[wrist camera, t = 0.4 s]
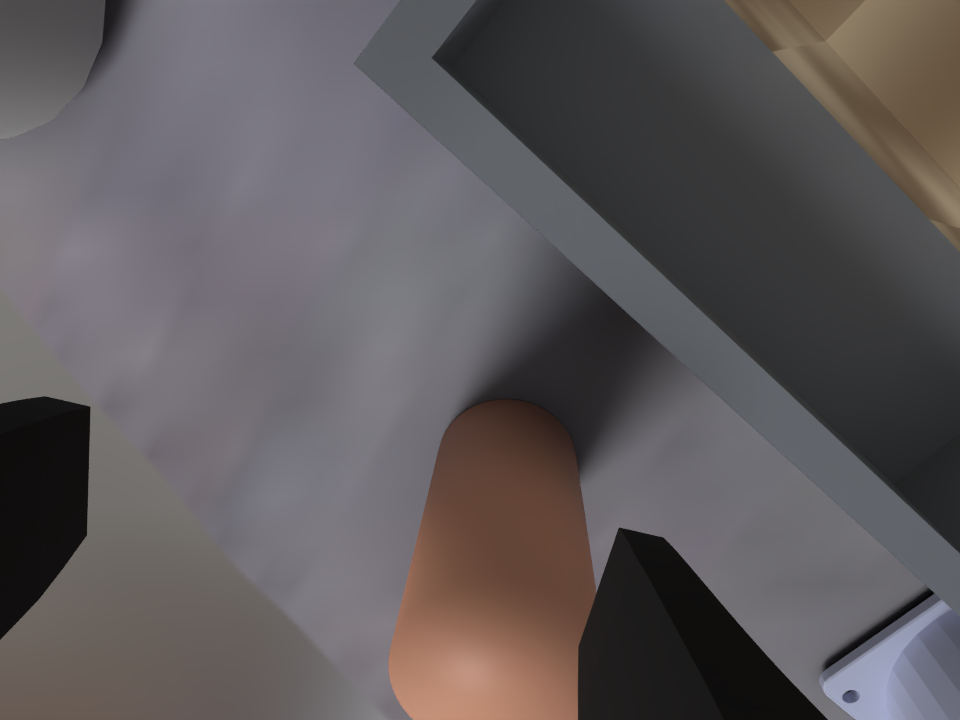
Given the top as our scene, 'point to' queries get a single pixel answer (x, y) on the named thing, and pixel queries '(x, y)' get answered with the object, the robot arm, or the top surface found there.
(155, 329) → the top surface
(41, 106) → the can
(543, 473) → the peg
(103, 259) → the top surface
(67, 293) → the top surface
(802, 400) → the box
